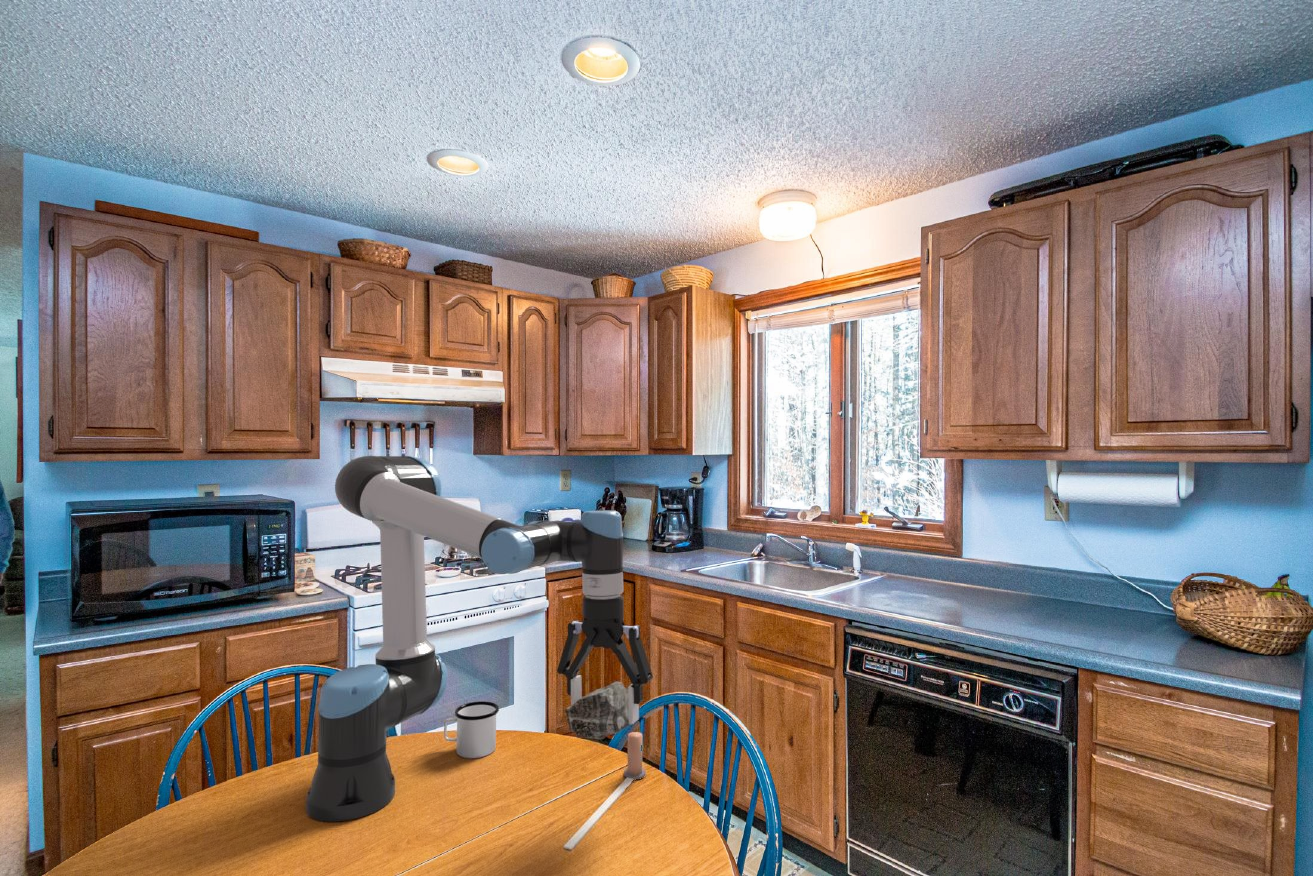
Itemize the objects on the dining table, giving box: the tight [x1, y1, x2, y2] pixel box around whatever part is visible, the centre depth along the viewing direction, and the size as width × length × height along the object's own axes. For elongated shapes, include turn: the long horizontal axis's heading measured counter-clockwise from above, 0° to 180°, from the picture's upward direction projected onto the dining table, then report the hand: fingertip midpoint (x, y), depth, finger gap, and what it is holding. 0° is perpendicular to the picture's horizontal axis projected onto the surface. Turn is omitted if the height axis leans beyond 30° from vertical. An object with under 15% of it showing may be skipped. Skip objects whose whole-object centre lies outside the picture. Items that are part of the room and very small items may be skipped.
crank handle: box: [563, 731, 647, 851], centre depth 120 cm, size 4×30×8 cm, turn 158°
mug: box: [443, 700, 500, 759], centre depth 143 cm, size 12×10×9 cm
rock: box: [564, 681, 632, 740], centre depth 118 cm, size 18×10×10 cm
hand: (604, 717), depth 118 cm, fingers closed on rock, 11 cm apart
